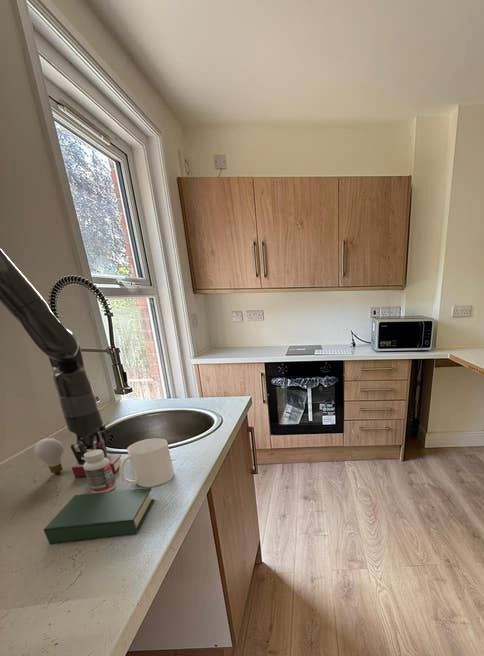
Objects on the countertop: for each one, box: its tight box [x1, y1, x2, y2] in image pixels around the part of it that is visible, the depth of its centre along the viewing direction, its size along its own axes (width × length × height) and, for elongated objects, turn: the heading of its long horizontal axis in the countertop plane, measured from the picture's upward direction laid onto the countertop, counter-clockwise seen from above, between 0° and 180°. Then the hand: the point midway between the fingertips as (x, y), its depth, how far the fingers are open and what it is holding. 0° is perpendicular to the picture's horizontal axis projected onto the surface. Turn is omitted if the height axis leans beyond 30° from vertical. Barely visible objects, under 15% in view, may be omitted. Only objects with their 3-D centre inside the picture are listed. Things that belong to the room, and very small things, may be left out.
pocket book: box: [71, 454, 122, 479], centre depth 93 cm, size 10×6×3 cm, turn 99°
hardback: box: [43, 487, 155, 545], centre depth 73 cm, size 16×12×4 cm
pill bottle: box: [83, 449, 117, 494], centre depth 84 cm, size 5×5×10 cm
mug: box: [118, 437, 175, 488], centre depth 87 cm, size 12×9×9 cm
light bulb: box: [34, 437, 64, 475], centre depth 91 cm, size 6×6×10 cm
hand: (99, 469), depth 94 cm, fingers closed on pocket book, 5 cm apart
